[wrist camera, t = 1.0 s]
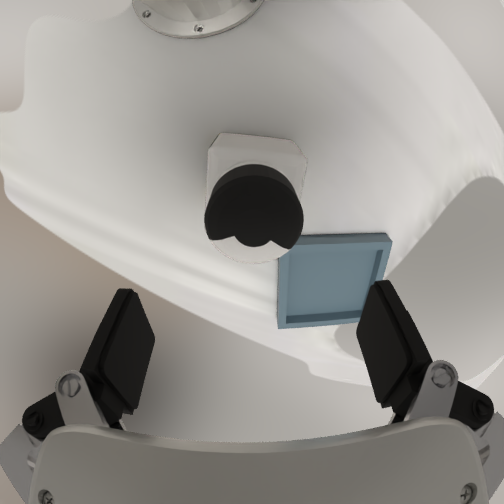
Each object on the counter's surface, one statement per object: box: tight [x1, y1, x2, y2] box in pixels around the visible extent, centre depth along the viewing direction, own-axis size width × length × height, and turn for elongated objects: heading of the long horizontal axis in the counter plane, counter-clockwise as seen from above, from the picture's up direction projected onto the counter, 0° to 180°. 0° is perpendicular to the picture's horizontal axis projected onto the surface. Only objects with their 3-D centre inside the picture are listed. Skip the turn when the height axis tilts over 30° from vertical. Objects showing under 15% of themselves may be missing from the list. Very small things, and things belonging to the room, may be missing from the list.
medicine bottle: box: [204, 133, 307, 264], centre depth 21 cm, size 7×7×12 cm
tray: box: [277, 233, 392, 329], centre depth 33 cm, size 13×13×2 cm
